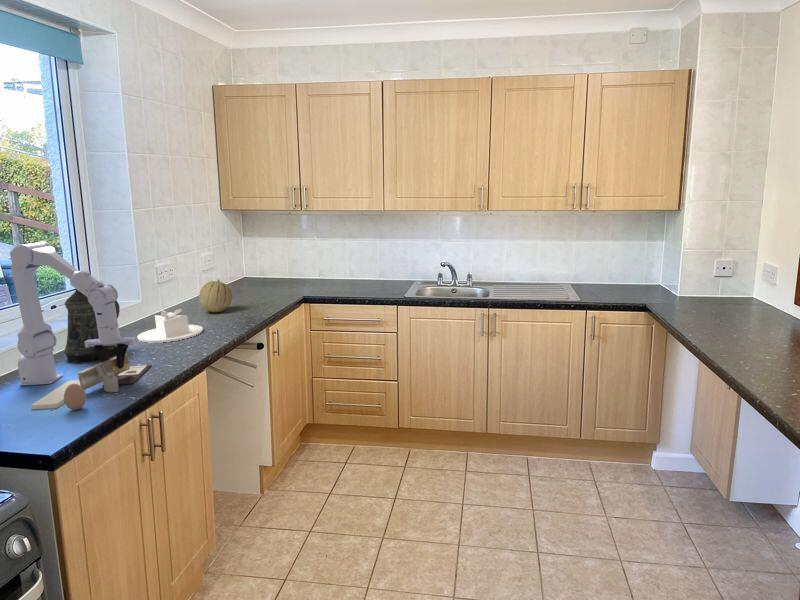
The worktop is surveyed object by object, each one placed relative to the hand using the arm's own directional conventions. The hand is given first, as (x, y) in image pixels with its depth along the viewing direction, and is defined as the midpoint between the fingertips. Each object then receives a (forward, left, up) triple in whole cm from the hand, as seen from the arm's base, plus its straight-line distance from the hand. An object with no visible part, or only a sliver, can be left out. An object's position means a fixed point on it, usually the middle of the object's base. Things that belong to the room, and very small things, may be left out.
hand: (114, 368), depth 179 cm
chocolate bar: (+2, +5, -5) cm, 7 cm away
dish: (-3, +56, -5) cm, 56 cm away
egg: (-1, -22, -5) cm, 22 cm away
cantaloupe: (+5, +95, -5) cm, 95 cm away
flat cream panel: (-11, -10, -4) cm, 15 cm away
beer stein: (-22, +32, -5) cm, 39 cm away
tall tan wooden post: (-1, -3, -2) cm, 4 cm away
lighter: (+1, -8, -4) cm, 9 cm away
